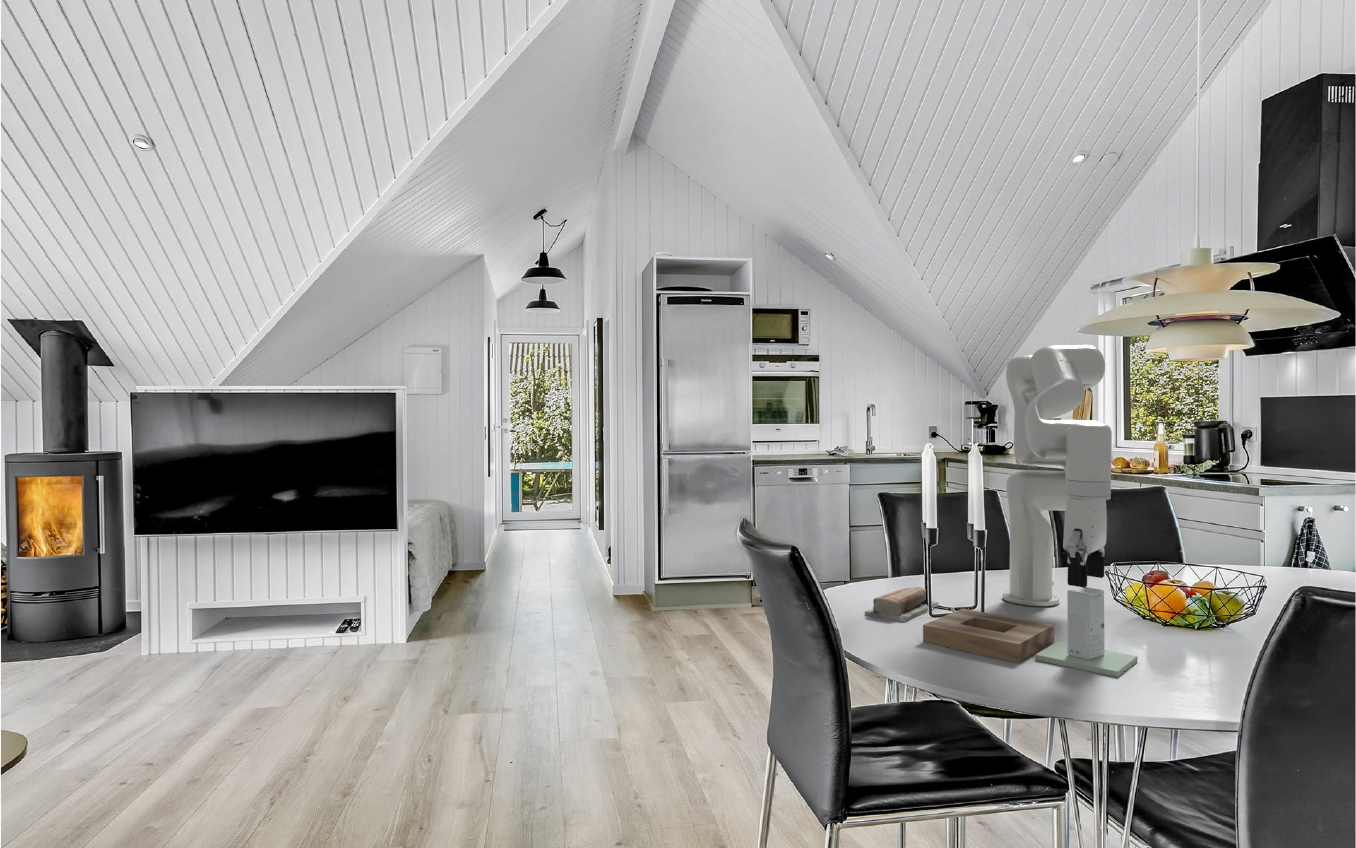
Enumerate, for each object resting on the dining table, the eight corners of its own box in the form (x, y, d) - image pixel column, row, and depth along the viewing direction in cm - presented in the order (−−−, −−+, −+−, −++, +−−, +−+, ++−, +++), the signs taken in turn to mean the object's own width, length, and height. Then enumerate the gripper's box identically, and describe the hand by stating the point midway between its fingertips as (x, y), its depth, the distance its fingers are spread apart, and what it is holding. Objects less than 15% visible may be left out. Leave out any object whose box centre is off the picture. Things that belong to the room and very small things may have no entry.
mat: (1058, 646, 159) (1058, 641, 159) (1137, 661, 150) (1137, 656, 150) (1035, 659, 151) (1035, 654, 151) (1117, 677, 141) (1117, 671, 141)
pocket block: (962, 624, 175) (962, 608, 175) (1054, 642, 162) (1054, 625, 162) (922, 642, 162) (923, 624, 162) (1018, 663, 149) (1019, 644, 149)
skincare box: (1090, 661, 147) (1090, 594, 147) (1065, 655, 151) (1066, 590, 150) (1105, 654, 151) (1106, 589, 150) (1081, 648, 154) (1082, 585, 154)
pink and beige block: (905, 602, 177) (864, 595, 183) (905, 624, 177) (864, 617, 184) (939, 588, 191) (899, 582, 197) (939, 608, 191) (899, 602, 197)
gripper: (1081, 483, 159) (1080, 570, 159) (1049, 492, 146) (1048, 586, 147) (1124, 486, 153) (1122, 576, 154) (1094, 496, 141) (1092, 593, 142)
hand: (1086, 581), depth 151 cm, fingers open, 9 cm apart
